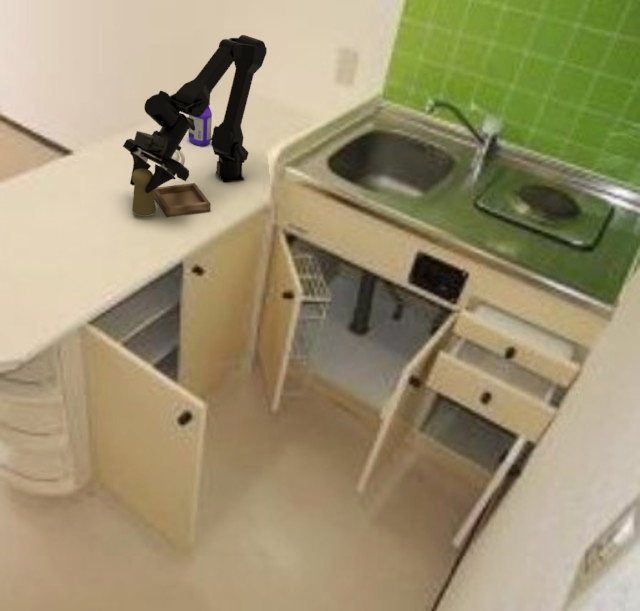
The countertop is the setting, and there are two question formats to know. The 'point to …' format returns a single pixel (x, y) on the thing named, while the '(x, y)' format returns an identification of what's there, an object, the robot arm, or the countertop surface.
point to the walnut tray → (181, 200)
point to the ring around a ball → (177, 157)
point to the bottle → (201, 128)
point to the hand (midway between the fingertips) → (138, 188)
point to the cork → (142, 193)
